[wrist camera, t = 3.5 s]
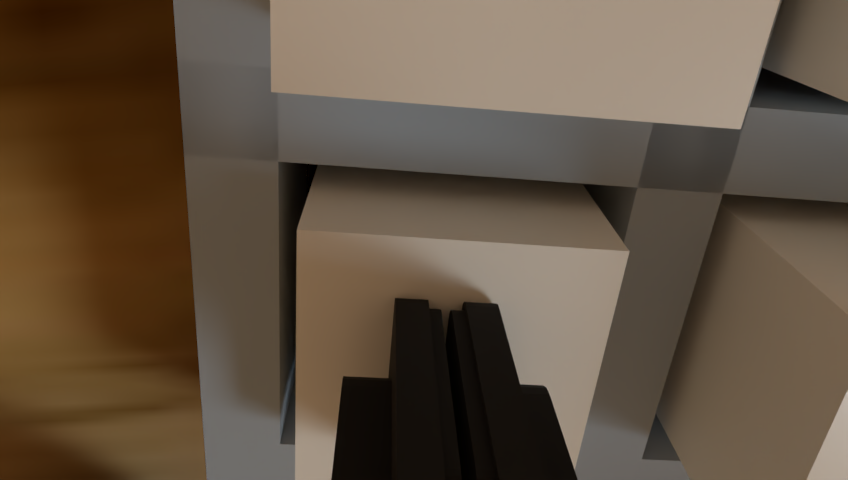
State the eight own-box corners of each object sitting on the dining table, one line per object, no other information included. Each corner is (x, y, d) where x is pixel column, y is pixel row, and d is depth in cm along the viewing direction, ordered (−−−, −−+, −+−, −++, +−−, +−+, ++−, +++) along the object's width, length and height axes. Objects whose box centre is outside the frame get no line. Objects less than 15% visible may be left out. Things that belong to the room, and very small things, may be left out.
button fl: (557, 148, 15) (629, 251, 10) (522, 338, 17) (569, 493, 12) (328, 131, 14) (296, 229, 10) (323, 327, 16) (295, 482, 12)
